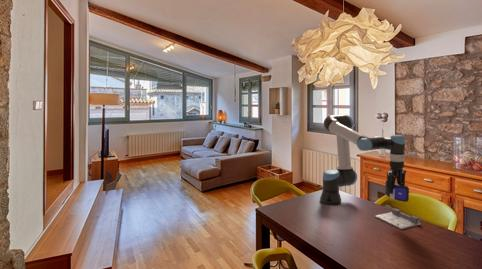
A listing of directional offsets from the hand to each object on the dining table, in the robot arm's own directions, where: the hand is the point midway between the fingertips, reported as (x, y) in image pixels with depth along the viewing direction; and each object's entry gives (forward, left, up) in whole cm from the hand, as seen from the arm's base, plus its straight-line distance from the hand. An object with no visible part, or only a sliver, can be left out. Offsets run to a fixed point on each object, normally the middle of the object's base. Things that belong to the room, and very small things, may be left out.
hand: (395, 198), depth 160 cm
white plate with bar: (0, +2, -15) cm, 15 cm away
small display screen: (0, +1, 0) cm, 2 cm away
